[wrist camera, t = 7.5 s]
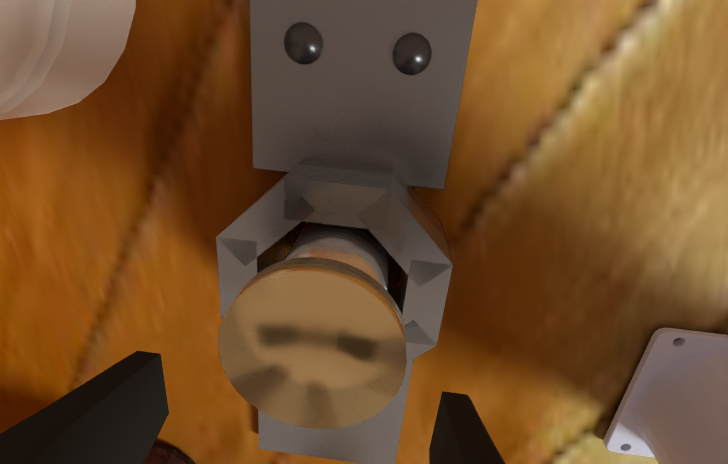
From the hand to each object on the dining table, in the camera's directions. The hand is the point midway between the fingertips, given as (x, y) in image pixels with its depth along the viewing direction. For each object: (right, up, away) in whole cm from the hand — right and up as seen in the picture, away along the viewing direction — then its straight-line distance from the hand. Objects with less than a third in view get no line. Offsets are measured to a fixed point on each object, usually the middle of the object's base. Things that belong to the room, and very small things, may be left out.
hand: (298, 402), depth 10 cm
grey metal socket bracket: (+1, +4, +8) cm, 9 cm away
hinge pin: (+1, +4, +8) cm, 9 cm away
